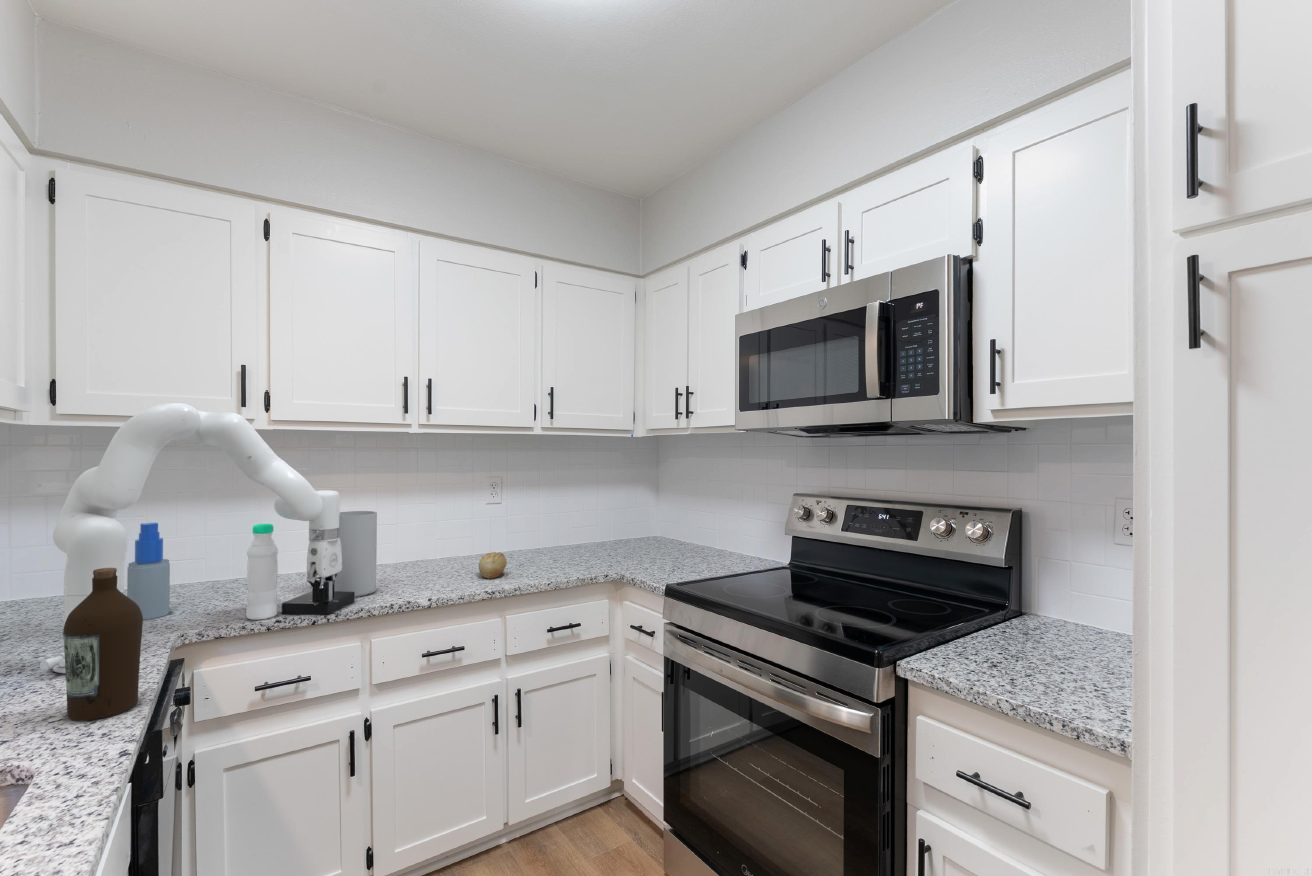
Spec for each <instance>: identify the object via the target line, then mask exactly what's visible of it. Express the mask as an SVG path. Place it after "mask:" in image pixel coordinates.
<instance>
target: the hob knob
mask: <svg viewBox="0 0 1312 876" xmlns="http://www.w3.org/2000/svg"><path fill="white" fill-rule="evenodd" d="M317 580H318V581H319V582H320V579H317ZM332 583H333V581H324V584H323V588H325V602H330V601H332Z"/></svg>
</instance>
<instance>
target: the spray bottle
mask: <svg viewBox="0 0 1312 876" xmlns="http://www.w3.org/2000/svg"><path fill="white" fill-rule="evenodd" d="M139 528H140V531H139V533H138V538H137V539H134V561H132V562H129V563H128V566H127V568H126V569H127V576H126V577H127V578H126V581H127V582H126V583H127V584H126V587H127V588H126V596H127V597H128V598H130V599H131V600H133V601H134V602H135V603H136V604H137V605H138V606H139V608H140V610H141V612H142V616H143V621H144V620H151V619H158V618H161V617H165V616H167V615H168V614H170V602H171V601H170V599H171V598H170V596H171V595H170V594H171V593H170V591H171V589H170V588H171V587H170V586H171V585H170V584H171V581H170V580H171V563H170V559H168V558H164V538H163V537H160V531H159V523H158V522H141V523H140V527H139Z"/></svg>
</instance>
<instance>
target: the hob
mask: <svg viewBox="0 0 1312 876" xmlns="http://www.w3.org/2000/svg"><path fill="white" fill-rule="evenodd" d="M355 598H356V597H355V592H342V591H334V598H332V601H330V602H323V603H313V602H312V590H311V591H307V592H306V593H303V594H301V595H299V596H296V597H293V598H291V599H288V600H287V601H284V602H281V615H306V616H308V615H309V616H329V615H331V614H332V613H335V612H337V611H339V610H341V609H343V608H345V607H347V606H349V605H351V604H353V603H355V601H356V600H355Z"/></svg>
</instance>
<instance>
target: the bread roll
mask: <svg viewBox="0 0 1312 876" xmlns="http://www.w3.org/2000/svg"><path fill="white" fill-rule="evenodd" d="M507 565H508V561H507V557H506V555H504V553H502V552H501V551H500V552H495V551H493V552H488V553H485V554H484V555H483V556H482V557H481V558H480V559H479V562H478V571H479V573H480V575H481V576H482V577H483V578H485V579H488V580H491V579H495V578H497V577H500V575H502V574H503V572H504V570H505V569H506V567H507Z"/></svg>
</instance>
